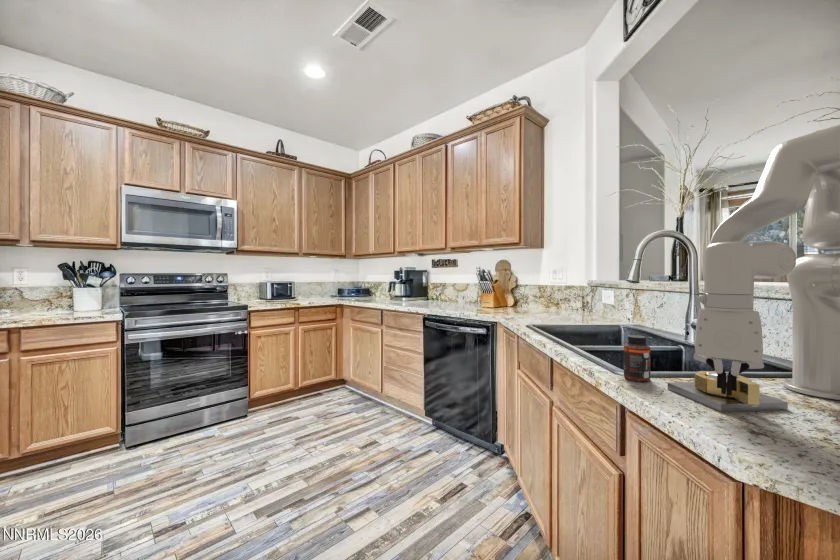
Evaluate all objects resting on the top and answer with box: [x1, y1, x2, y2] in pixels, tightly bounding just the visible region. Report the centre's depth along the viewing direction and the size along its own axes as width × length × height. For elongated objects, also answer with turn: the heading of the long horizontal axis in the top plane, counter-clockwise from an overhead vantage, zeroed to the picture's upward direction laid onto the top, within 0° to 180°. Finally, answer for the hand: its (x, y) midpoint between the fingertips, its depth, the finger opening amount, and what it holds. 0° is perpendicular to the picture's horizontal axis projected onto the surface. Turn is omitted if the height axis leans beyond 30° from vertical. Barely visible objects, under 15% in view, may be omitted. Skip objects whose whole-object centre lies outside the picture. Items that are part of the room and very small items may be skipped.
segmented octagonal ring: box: [694, 370, 761, 405], centre depth 74 cm, size 13×9×4 cm
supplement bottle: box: [623, 334, 651, 383], centre depth 91 cm, size 6×6×11 cm
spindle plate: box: [667, 372, 789, 413], centre depth 76 cm, size 14×16×5 cm
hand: (726, 392), depth 71 cm, fingers closed
